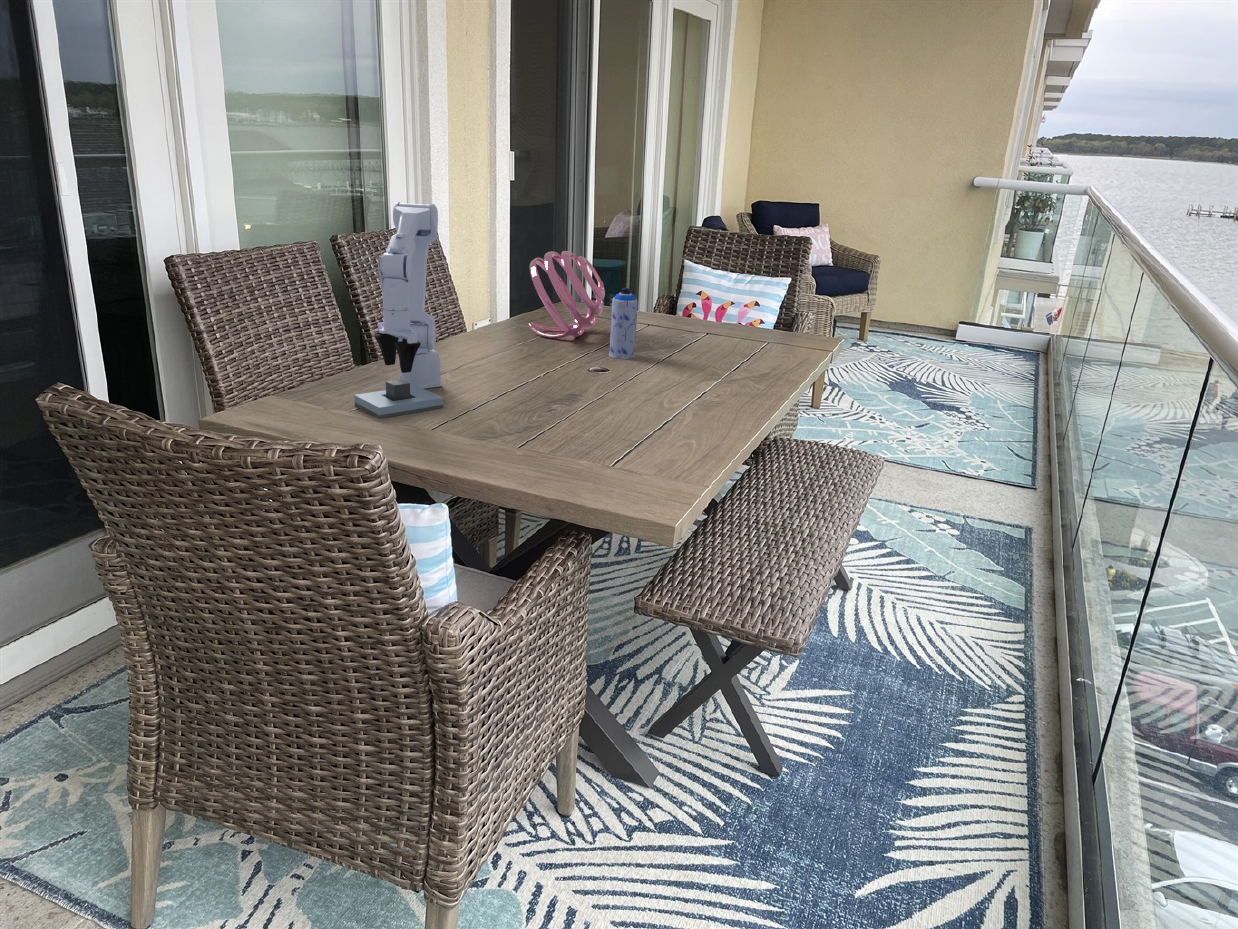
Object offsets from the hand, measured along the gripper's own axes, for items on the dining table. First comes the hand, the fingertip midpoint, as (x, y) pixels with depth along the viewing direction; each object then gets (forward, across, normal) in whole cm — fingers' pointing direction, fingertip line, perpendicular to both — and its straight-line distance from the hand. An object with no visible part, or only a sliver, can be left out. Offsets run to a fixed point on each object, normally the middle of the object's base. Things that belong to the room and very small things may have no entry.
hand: (398, 368), depth 203 cm
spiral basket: (+10, -44, +83) cm, 94 cm away
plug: (+8, 0, 0) cm, 8 cm away
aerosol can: (+9, -14, +81) cm, 83 cm away
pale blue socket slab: (+9, 0, 0) cm, 9 cm away
